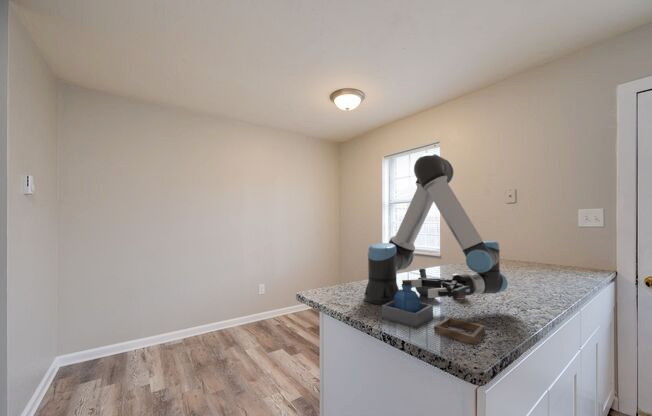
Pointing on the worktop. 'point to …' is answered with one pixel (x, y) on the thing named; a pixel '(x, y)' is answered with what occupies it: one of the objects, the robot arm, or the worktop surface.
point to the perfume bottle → (407, 298)
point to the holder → (468, 338)
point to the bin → (407, 315)
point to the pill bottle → (461, 296)
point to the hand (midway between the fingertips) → (416, 288)
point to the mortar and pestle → (424, 287)
